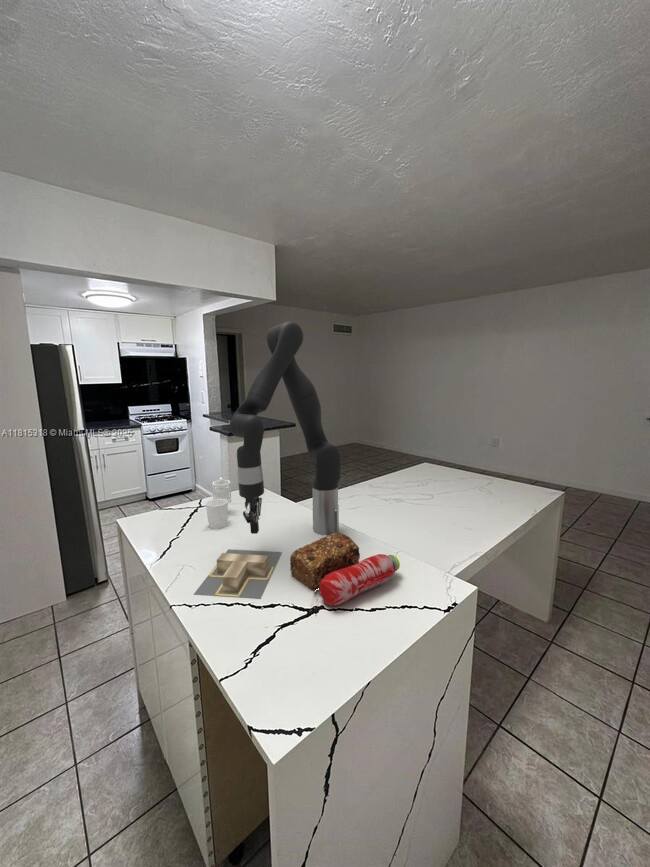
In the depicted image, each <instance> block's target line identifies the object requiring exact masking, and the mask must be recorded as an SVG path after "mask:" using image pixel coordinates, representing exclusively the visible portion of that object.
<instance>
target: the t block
mask: <svg viewBox="0 0 650 867" xmlns="http://www.w3.org/2000/svg"><path fill="white" fill-rule="evenodd" d="M216 565H217V573H225V574H224V575H223V576H222V584H223V591H233V592H238V590H239V588H240V587H241V585H242V583H243V582H244V580H245V578H246V577H247V575H259V576H265V574H266V572H267V570H268V568H269V566H268V556H266V555H248V554H230V553H226V552H222V553H221V554H220V555H219V557H217V559H216Z"/></svg>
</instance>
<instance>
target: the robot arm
mask: <svg viewBox="0 0 650 867" xmlns="http://www.w3.org/2000/svg"><path fill="white" fill-rule="evenodd" d="M303 341H304V332H303V330H302V328H301V327H300V325H299V324H298V323H296V322H294V321H285V322H281V323H279V324H277V325H274V326H272V327H271V328H269V330H268V331H267V333H266V343H267V347H268V349H269V351H270V354H271V356H270V358H269V360H268V361H267V363H266V364H265V365H264V366H263V367H262V369H261V370H260V371H259V373H258V374H257V376H255V378H254V380H253V382H252V384H251V386H250V388H249V390H248V393H247V395H246V398H245V399H244V400H243V402H241V404H240V405H239V406H238V408H237V409H236V411H235V412H234V413H233V415H232V416H231V418H230V422H229V430H230V432H231V434H232V435H233V436H234V437H237V438H243V444H242V445H241V446H239V447H238V448H237V450H236V460H237V462H236V463H237V483H238V493H239V494H238V495H239V496H240V498H244V499H245V501H244V508H245V511H244V510H243V512H242V516H243V518H244V520H245V521H246V523H247V524H250V527H249V528H250V533H251V534H252V535H257V534H258V533H259V532H260V527H259V520H260V517H261V511H262V501H263V499H262V498H263V497H261V496H263V495H264V493H265V486H264V485H265V484H264V471H263V470H264V469H263V467H262V457H261V449H262V444H263V439H264V434H265V433H264V432H265V427H264V422H263V421H262V419H261V418H260V417H259V416H258V414H260V413H262V412H265V411H266V410H268V408H269V405H270V402H271V400H272V399H273V396H274V394H275V391H276V389H277V387H278V385H279V383H280V380H281V379H282V381H283V383H284V386H285V389H286V391H287V394H288V398H289V400H290V403H291V406H292V409H293V411H294V413H295V416H296V419H297V422H298V424H299V427H300V428H301V429H300V430H301V431H302V433H303V436H304V439H305V444H306V449H307V453H308V456H309V460H310V461H311V463H313V465H315V477H314V478H313V479H312V481H311V482H312V483H311V484H312V485H311V486H312V530H313V532H314V534H317V535H321V536H328V535H331V534H333V533H338V532H339V529H340V526H339V525H340V521H339V518H340V515H339V514H340V513H339V512H340V511H339V509H340V508H339V507H340V506H339V482H340V479H341V468H342V464H341V462H342V460H341V459H342V457H341V456H342V455H341V451H340V450H339V448H338V447H337V446H336V445H334V444H332V443H329V441H328V439H327V436H326V434H325V432H324V428H323V425H322V408H321V403H320V399H319V396H318V393H317V390H316V388H315V386H314V383H312V381H311V380H310V378H308V376H307V374H305V373H304V371H303V370H302V369H301V368H300V366H299V365H298V363H297V361H296V358H295V356H296V354H297V352H298V351H299V350H300V348H301V346H302V344H303Z"/></svg>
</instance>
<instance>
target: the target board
mask: <svg viewBox="0 0 650 867" xmlns="http://www.w3.org/2000/svg"><path fill="white" fill-rule="evenodd" d="M225 553H230V554H248V555H266V556H268V566H269V568H268V570H267V572H266V574H265V576H259V575H247V577H246V578H245V580H244V582H243V583H242V585H241V587H240V588H239V590H238V592H233V591H223V584H222V576H223V575H224V574H225V573H217V564H215V566H214V567H213V568H212V570H211V571H210V572H209V574H208V575H207V576H206V577H205V579H204V580H203V581H202V583H201V584H200V585H199V586H198V588H197V589H196V590H195V592H194V593H192V594H193V596H206V597H207V596H210V597H221V598H222V597H224V598H235V599H236V598H238V599H239V598H240V599H255V600H261V599H262V598H263V595H264V592H266V591H265V590H266V588H267V587H268V585H269V582H270V580H271V578H272V576H273V574H274V571H275V570H276V567H277V564H278V563H279V561H280V558H281V556H282V554H283V551H268V550H252V549H251V550H247V549H232V548H231V549H230V548H229V549H227V550H226V551H225Z"/></svg>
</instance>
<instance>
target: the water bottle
mask: <svg viewBox="0 0 650 867" xmlns="http://www.w3.org/2000/svg"><path fill="white" fill-rule="evenodd" d="M400 564H401V562H400V560H399V558H398V557H397V556H396V555H394V554H388V555H387V554H383V553H378V554H375V555H371V556H370V557H367V558H364V559H362V560H361V561H359V563H357V564H355V565H349V564H345V563H340V564H339V565H338V566H337V567H335V568H334V569H333V570H331V571H330V572H332V573H329V574H327V575H326V576H325V577H324V578H323V579H322V581H321V582H320V584H319V590H318V591H319V594H320V597H321V598H322V600H323V602H324V603H325V604H326V605H329V606H339V605H342V604H344V603H347V602H348V601H350V600H351V599H353V598H355V597H357V596H359V595H360V594H362V593H364V592H366V591H368V590H371V589H374V588H377V587H379V586H381V585H383V584H385V583H387V582H388V581H390V580H391V579H392V578H393V576H394V575H395V573H396V572H397V571H398V570H399V569H400V567H401V565H400Z"/></svg>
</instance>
